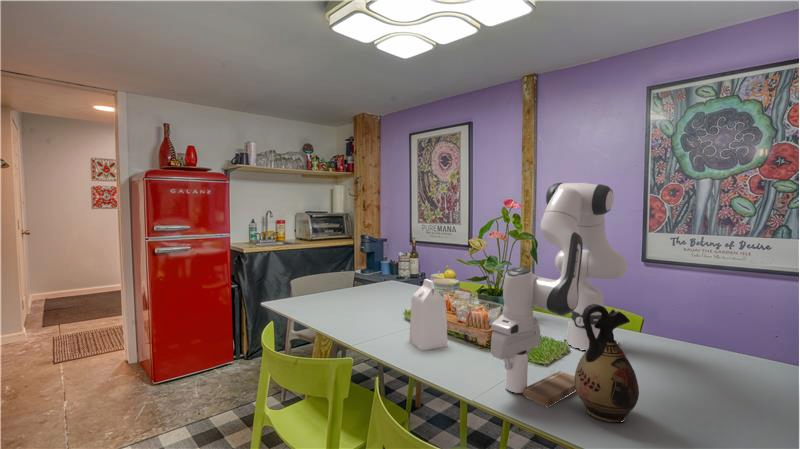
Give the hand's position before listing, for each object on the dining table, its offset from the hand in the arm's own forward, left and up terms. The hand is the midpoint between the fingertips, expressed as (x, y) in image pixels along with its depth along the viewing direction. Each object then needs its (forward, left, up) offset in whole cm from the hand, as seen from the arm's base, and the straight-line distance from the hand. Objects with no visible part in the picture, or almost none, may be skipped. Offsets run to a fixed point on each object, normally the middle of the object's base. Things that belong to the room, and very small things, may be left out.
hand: (516, 365), depth 116 cm
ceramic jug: (-8, +22, -8) cm, 25 cm away
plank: (-8, +8, -8) cm, 14 cm away
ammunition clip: (-20, -33, -8) cm, 40 cm away
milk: (-4, -45, -8) cm, 46 cm away
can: (0, 0, -8) cm, 8 cm away
